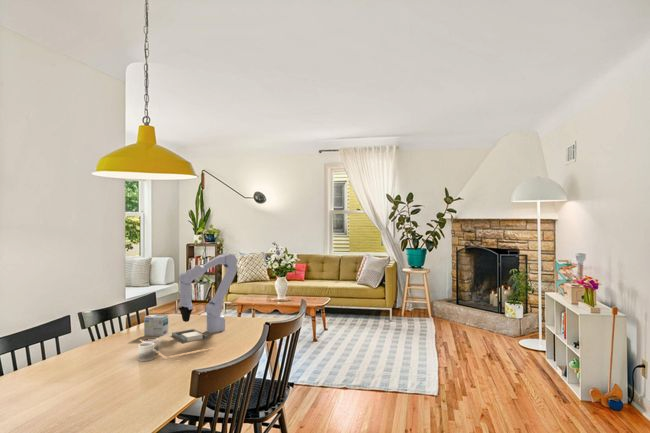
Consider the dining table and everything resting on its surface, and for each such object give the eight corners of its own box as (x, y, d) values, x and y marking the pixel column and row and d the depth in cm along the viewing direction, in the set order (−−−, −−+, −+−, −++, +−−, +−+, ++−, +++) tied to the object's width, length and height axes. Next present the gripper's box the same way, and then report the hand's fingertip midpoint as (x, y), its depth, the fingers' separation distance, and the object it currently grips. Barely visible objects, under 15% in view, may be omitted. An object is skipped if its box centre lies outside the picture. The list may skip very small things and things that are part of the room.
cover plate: (196, 335, 229) (196, 331, 229) (202, 338, 223) (202, 334, 223) (181, 338, 224) (181, 333, 224) (187, 341, 218) (187, 337, 218)
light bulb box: (168, 334, 236) (168, 314, 236) (163, 337, 229) (163, 317, 229) (150, 333, 237) (149, 314, 237) (143, 337, 230) (143, 316, 230)
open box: (193, 333, 237) (193, 328, 237) (207, 340, 224) (207, 335, 224) (171, 337, 229) (171, 332, 229) (184, 344, 216) (184, 339, 216)
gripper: (173, 294, 233) (173, 319, 233) (183, 298, 222) (183, 324, 222) (186, 292, 237) (186, 317, 237) (196, 296, 226) (197, 322, 226)
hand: (185, 321), depth 230 cm, fingers closed
